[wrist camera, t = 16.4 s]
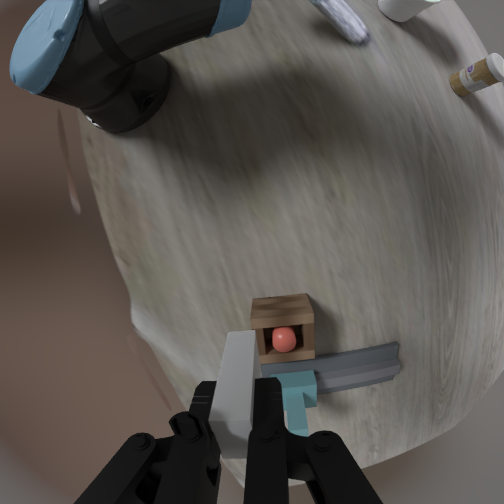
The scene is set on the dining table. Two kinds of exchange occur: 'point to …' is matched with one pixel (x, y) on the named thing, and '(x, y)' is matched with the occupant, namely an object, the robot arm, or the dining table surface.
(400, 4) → the cup
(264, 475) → the robot arm
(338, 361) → the rail bed
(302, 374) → the carriage
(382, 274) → the dining table surface
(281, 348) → the cylinder
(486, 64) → the sprinkles bottle
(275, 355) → the open wooden box
